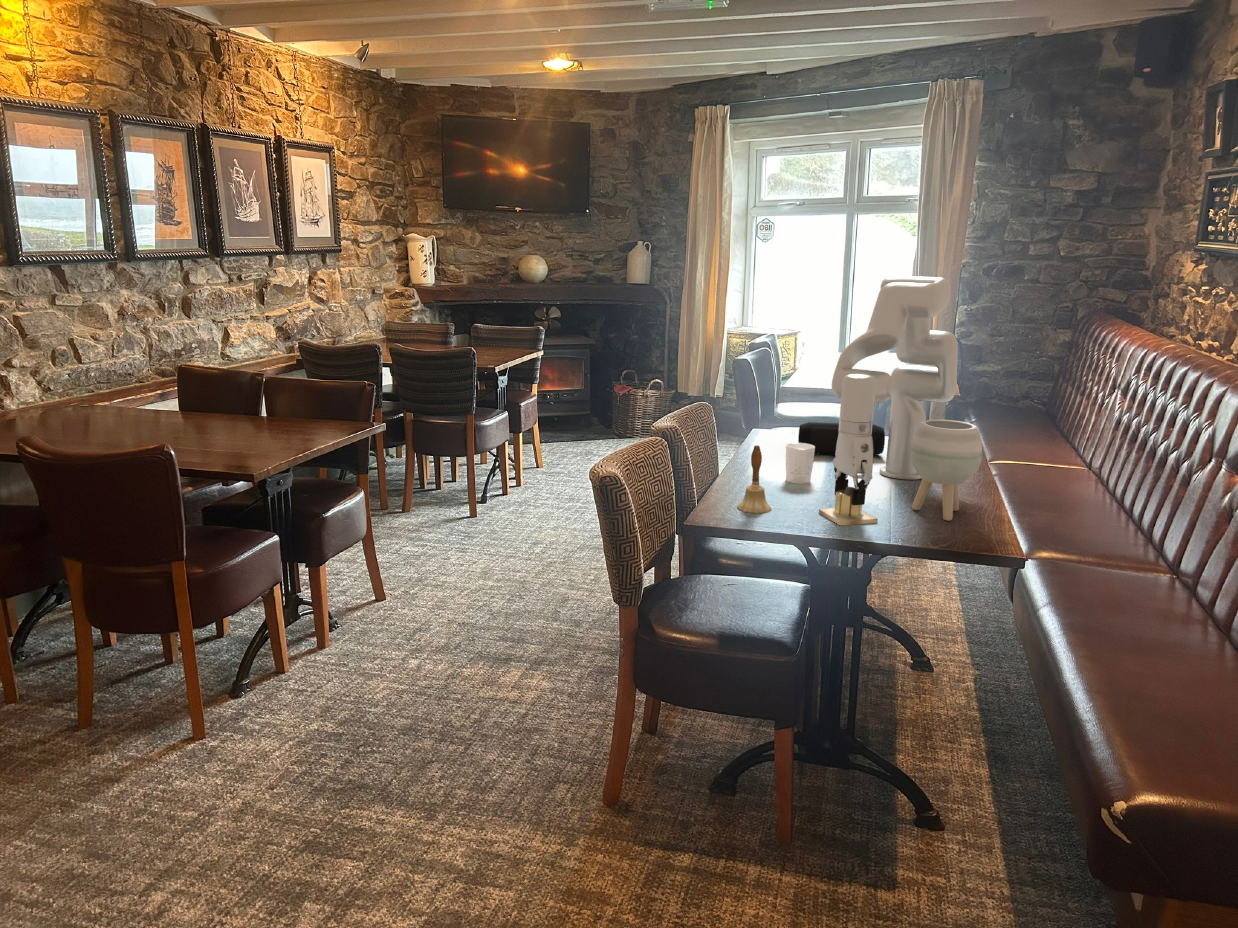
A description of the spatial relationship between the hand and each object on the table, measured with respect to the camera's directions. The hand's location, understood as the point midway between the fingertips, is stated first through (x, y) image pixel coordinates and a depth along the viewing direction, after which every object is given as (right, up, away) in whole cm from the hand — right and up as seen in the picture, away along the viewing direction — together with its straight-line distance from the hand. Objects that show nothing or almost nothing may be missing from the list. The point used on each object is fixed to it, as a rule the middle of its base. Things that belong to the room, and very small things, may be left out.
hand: (849, 499), depth 204 cm
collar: (0, -3, +1) cm, 3 cm away
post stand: (0, -4, +1) cm, 5 cm away
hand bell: (-22, -3, +7) cm, 23 cm away
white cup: (-5, +4, +34) cm, 35 cm away
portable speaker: (+15, +11, +66) cm, 69 cm away
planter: (+24, -4, +6) cm, 25 cm away
